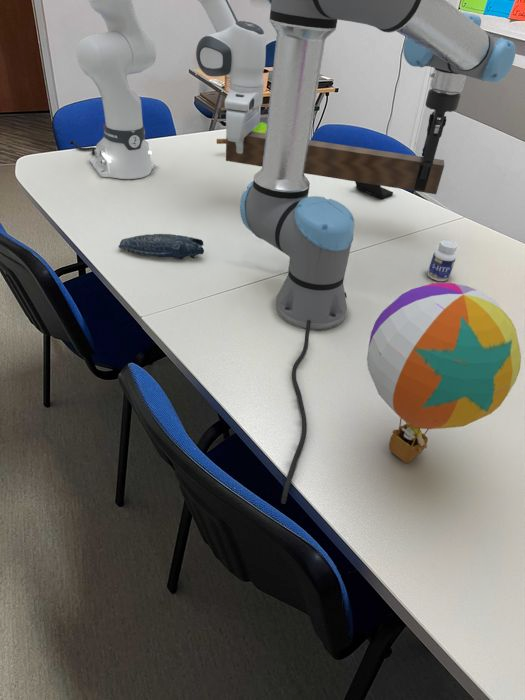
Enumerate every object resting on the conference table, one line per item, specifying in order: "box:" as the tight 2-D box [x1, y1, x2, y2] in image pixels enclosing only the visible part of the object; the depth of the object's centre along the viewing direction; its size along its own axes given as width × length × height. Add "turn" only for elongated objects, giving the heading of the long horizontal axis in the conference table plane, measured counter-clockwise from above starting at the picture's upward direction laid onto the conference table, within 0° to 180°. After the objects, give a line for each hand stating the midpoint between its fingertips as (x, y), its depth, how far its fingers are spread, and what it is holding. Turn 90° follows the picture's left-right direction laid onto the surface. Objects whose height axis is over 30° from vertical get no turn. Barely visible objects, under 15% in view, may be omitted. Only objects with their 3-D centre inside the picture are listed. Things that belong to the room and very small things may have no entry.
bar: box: [225, 131, 445, 195], centre depth 140 cm, size 58×5×8 cm, turn 75°
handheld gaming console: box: [354, 181, 394, 200], centre depth 167 cm, size 12×7×10 cm
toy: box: [366, 282, 522, 464], centre depth 73 cm, size 20×20×30 cm
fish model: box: [118, 233, 205, 260], centre depth 125 cm, size 7×21×5 cm, turn 84°
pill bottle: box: [427, 239, 458, 282], centre depth 126 cm, size 5×5×9 cm
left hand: (243, 149), depth 144 cm, fingers closed on bar, 5 cm apart
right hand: (419, 186), depth 138 cm, fingers closed on bar, 5 cm apart
